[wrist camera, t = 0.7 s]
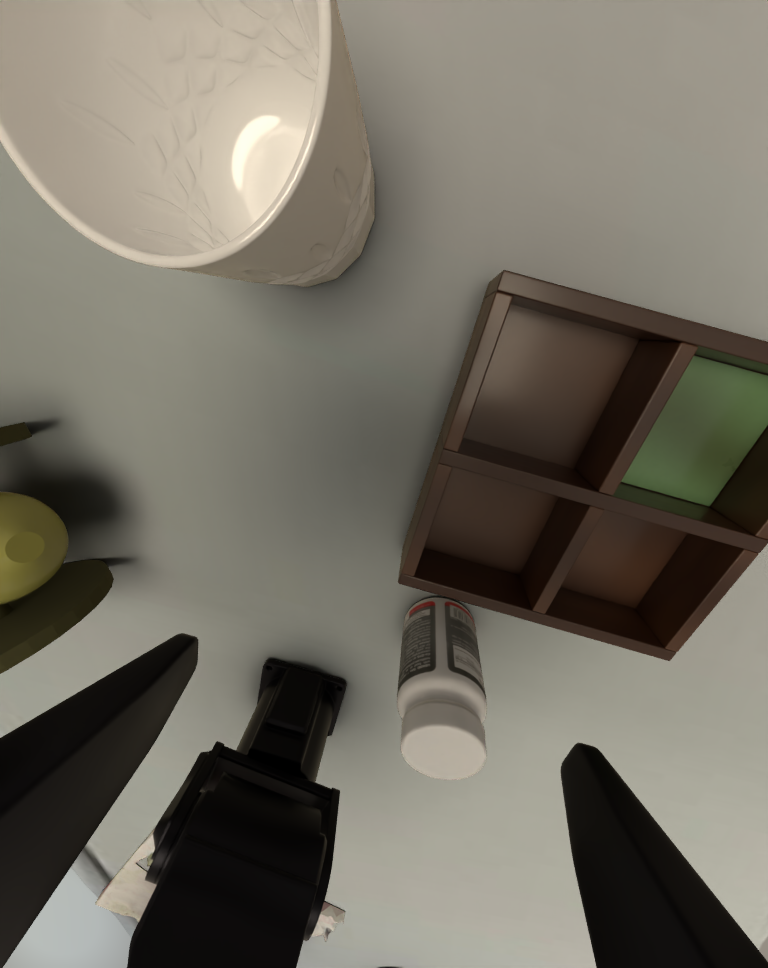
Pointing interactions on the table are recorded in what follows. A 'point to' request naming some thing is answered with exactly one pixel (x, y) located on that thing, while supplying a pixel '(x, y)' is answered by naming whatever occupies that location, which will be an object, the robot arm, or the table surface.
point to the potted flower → (134, 892)
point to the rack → (595, 468)
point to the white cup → (193, 131)
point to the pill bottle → (441, 691)
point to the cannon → (39, 573)
